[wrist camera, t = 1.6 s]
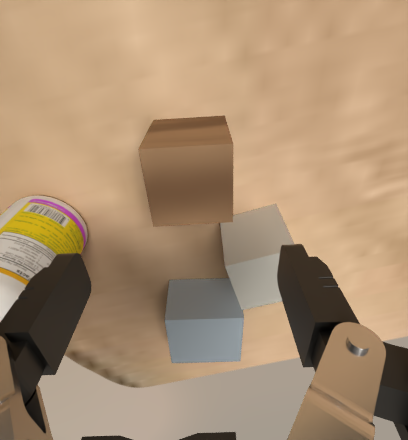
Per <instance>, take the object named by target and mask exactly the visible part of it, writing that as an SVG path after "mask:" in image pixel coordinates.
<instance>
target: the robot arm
mask: <svg viewBox="0 0 408 440" xmlns="http://www.w3.org/2000/svg"><path fill="white" fill-rule="evenodd" d="M277 282H278V288H279V292H280V295H281V298H282V301H283V304H284V307H285V311H286V314H287V317H288V320H289V323H290V327H291V330H292V333H293V336H294V339H295V343H296V346H297V349H298V352H299V355H300V359H301V362H302V365H303V367H314V369H315V375H314V378H313V380H312V382H311V385H310V386H309V388H308V390H307V392H306V395H305V397H304V399H303V402H302V404H301V407H300V409H299V412H298V414H297V417H296V419H295V422H294V424H293V427H292V429H291V431H290V434H289V436H288V439H287V440H374V435H375V425H374V424H373V415H374V416H377V417H380V418H383V419H387V420H390V421H393V422H394V424H395V427H396V429H397V431H398V433H399V435H400V438H401V440H408V349H407V348H403V347H399V346H395V345H391V344H388V343H385V342H383V341H381V339H380V338H379V337H378V336H377V335H376V334H375V333H374V332H373V331H372V330H370V329H368V328H367V327H365V326H363V325H360V323H359V322H358V320H357V318H356V316H355V314H354V313H353V311H352V309H351V307H350V306H349V304H348V302H347V300H346V298H345V297H344V295H343V293H342V291H341V290H340V288H338V284H337V282H336V281H335V279H333V275H332V273H331V272H330V270H329V268H328V266H327V265H326V264H325V263H323V262H322V261H321V260H320V259H319V258H318V257H308V255H307V253H306V251H305V249H304V247H303V245H302V244H293V245H282V246H281V249H280V256H279V264H278V271H277ZM90 293H91V281H90V278H89V275H88V273H87V270H86V267H85V265H84V262H83V259H82V257H81V255H80V254H79V253H65V254H57V255H56V256H55V258H54V259H53V261H52V262H51V264H50V265H49V267H44V268H43V269H42V270H40V271H39V272H38V273H37V274H35V275H34V276H33V277H32V278H31V280H30V281H29V283H28V284H27V285H26V287H25V290H23V291H22V292H21V294H20V295H19V297H18V299H16V301H15V302H14V304H13V305H12V306H11V308H10V309H9V311H8V312H7V313H6V315H5V316H4V318H3V319H2V320H1V322H0V440H53V438H52V434H51V431H50V427H49V423H48V419H47V415H46V411H45V407H44V403H43V399H42V396H41V392H40V388H39V386H38V385H37V384H38V382H39V380H40V378H41V376H42V375H55V374H56V372H57V370H58V367H59V365H60V363H61V360H62V358H63V356H64V354H65V351H66V349H67V347H68V344H69V342H70V340H71V337H72V335H73V333H74V331H75V328H76V326H77V324H78V321H79V319H80V317H81V314H82V312H83V310H84V308H85V305H86V303H87V301H88V298H89V296H90ZM81 440H132V439H129V438H125V437H122V436H92V437H82V439H81ZM180 440H236V433H235V432H224V433H197V434H194V435H191V436H188V437H185V438H183V439H180Z"/></svg>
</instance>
